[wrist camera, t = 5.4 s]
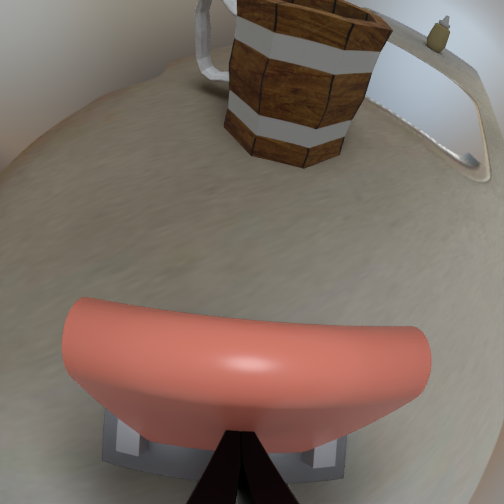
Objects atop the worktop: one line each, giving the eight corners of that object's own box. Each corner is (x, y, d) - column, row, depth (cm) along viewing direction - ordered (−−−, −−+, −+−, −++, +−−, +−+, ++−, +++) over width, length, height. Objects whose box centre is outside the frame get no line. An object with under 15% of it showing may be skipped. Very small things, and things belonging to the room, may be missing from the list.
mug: (358, 129, 31) (403, 25, 18) (313, 191, 25) (376, 39, 12) (228, 70, 35) (238, -25, 22) (156, 110, 29) (149, -12, 16)
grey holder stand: (328, 470, 15) (358, 485, 11) (115, 454, 14) (89, 467, 10) (333, 347, 19) (362, 333, 15) (129, 327, 18) (107, 308, 14)
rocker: (303, 452, 12) (439, 382, 5) (149, 441, 12) (52, 357, 4) (302, 419, 14) (418, 311, 6) (154, 407, 13) (83, 279, 6)
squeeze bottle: (433, 51, 71) (449, 17, 55) (420, 42, 74) (434, 8, 58) (445, 56, 72) (460, 24, 57) (432, 46, 76) (446, 15, 60)
